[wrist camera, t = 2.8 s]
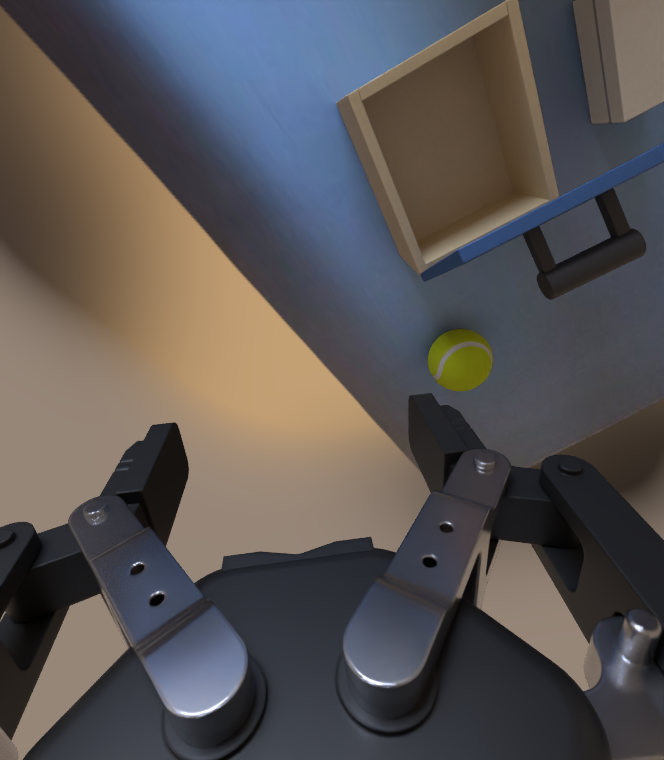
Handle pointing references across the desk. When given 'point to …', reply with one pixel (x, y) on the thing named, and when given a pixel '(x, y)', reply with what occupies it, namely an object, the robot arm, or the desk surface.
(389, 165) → the storage box
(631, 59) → the beige case
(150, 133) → the desk surface
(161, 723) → the robot arm
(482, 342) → the tennis ball
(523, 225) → the blue lid
